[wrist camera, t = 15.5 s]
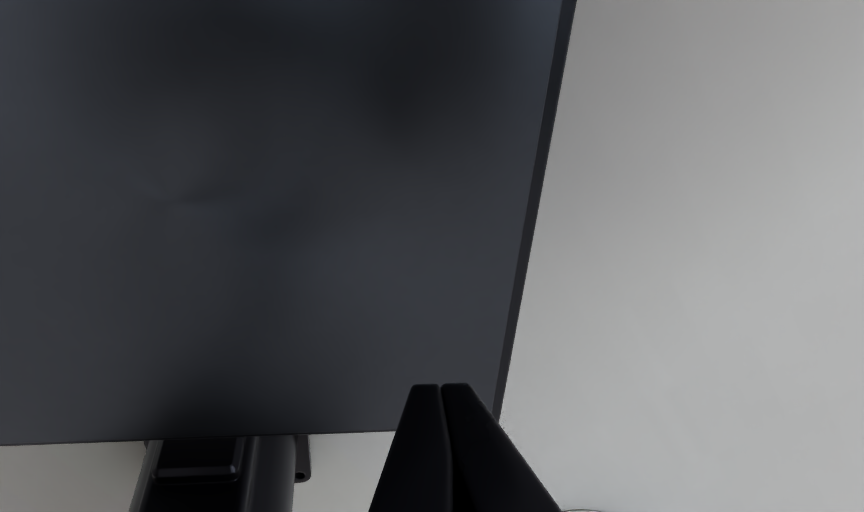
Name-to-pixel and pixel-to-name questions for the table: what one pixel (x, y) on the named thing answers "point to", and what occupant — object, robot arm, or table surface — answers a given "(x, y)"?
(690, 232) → the table surface
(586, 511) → the lumpy-topped squat cylinder
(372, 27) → the black drawer housing
